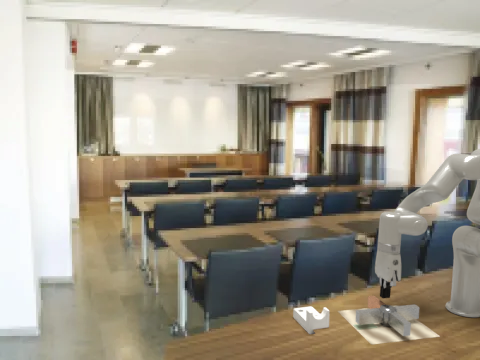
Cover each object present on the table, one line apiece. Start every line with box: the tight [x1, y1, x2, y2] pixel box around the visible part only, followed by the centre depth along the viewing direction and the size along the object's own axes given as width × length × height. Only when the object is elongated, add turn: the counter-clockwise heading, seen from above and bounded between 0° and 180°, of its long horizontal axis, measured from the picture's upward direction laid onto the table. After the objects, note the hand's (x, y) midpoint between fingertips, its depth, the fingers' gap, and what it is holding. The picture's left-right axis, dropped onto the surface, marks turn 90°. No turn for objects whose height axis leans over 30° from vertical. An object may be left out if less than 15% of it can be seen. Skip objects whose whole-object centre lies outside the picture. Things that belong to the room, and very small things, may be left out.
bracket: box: [292, 306, 331, 335], centre depth 146 cm, size 13×7×8 cm, turn 17°
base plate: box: [337, 304, 441, 345], centre depth 145 cm, size 24×24×2 cm
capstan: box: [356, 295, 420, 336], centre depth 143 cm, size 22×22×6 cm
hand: (384, 297), depth 153 cm, fingers closed
